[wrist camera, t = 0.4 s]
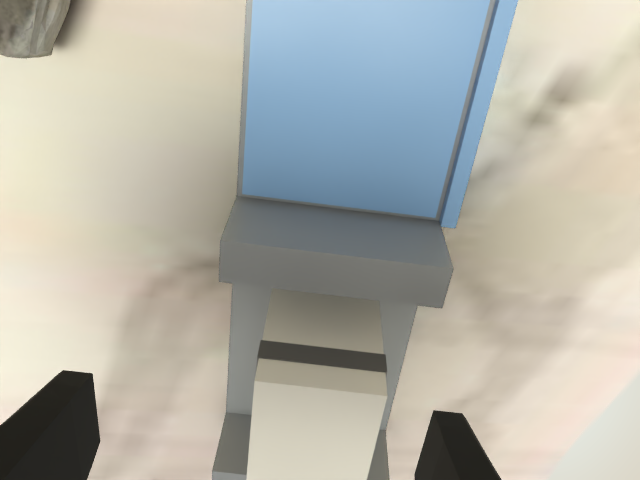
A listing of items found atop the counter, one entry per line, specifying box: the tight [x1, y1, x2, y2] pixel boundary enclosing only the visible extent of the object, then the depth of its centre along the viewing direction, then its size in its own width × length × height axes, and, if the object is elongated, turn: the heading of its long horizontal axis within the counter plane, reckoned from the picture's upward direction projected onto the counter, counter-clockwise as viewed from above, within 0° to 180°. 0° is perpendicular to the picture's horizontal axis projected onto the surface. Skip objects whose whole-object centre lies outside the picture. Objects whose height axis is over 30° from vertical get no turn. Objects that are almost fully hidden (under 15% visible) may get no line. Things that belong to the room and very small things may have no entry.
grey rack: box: [212, 0, 518, 480], centre depth 19 cm, size 22×8×4 cm, turn 173°
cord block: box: [246, 288, 387, 480], centre depth 20 cm, size 5×4×5 cm
